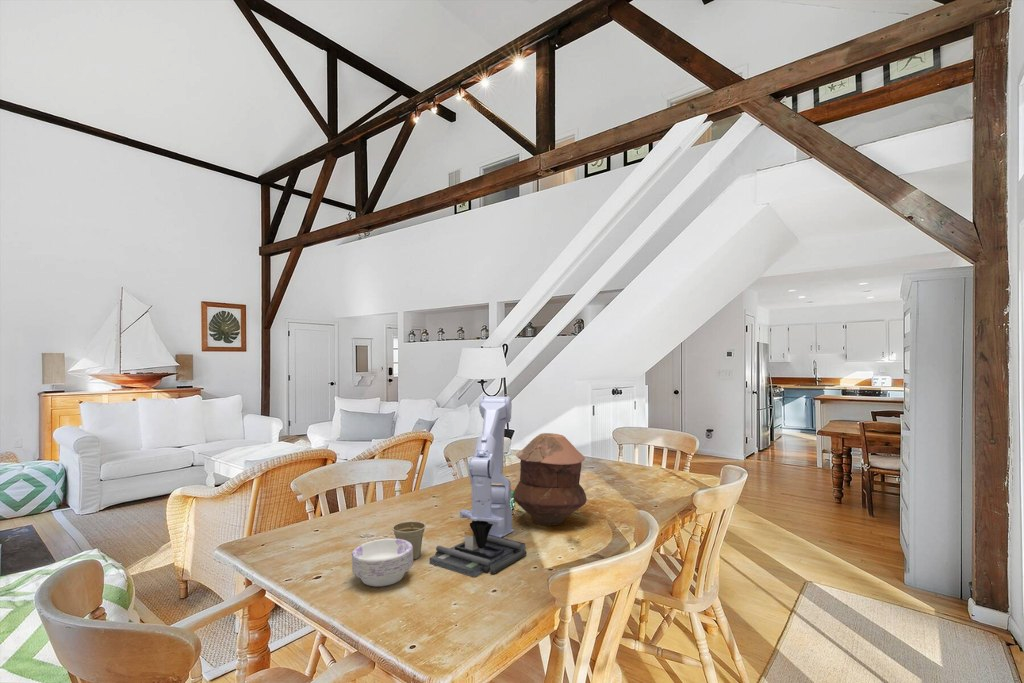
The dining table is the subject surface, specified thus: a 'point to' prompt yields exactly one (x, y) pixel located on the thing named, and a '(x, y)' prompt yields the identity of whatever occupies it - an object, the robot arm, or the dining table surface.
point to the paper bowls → (382, 561)
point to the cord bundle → (480, 560)
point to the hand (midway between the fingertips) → (481, 547)
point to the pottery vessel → (550, 479)
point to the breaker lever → (470, 540)
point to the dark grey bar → (505, 543)
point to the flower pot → (410, 534)
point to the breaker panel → (490, 552)
